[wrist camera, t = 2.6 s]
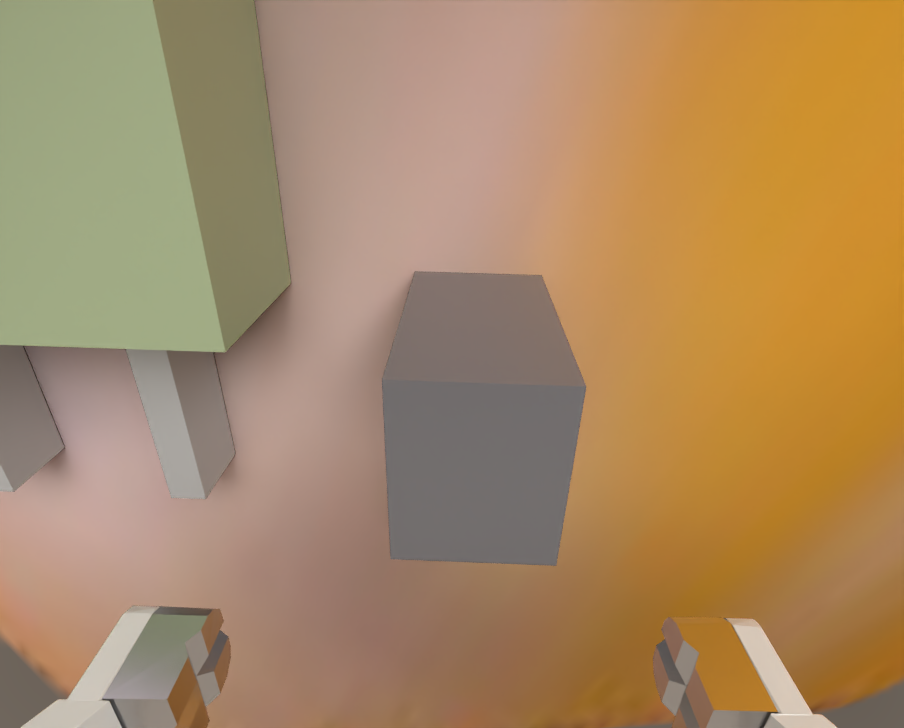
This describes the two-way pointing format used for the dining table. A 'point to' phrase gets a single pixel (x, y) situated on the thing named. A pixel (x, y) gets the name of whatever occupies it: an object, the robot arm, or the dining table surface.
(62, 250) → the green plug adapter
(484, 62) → the dining table surface
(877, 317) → the dining table surface
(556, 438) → the upright grey box
